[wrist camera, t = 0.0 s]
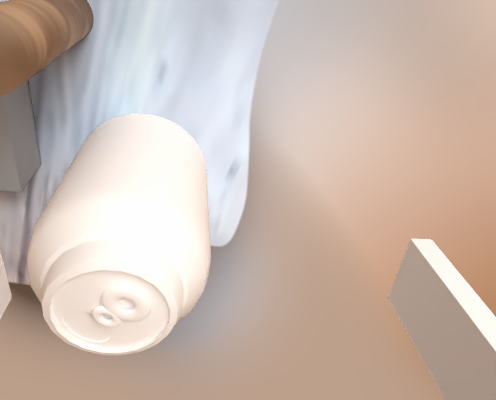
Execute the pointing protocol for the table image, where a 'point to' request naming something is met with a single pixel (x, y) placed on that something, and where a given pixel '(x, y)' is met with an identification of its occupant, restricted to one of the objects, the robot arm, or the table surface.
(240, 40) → the table surface
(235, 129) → the table surface
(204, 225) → the can
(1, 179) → the box
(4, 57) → the dowel
